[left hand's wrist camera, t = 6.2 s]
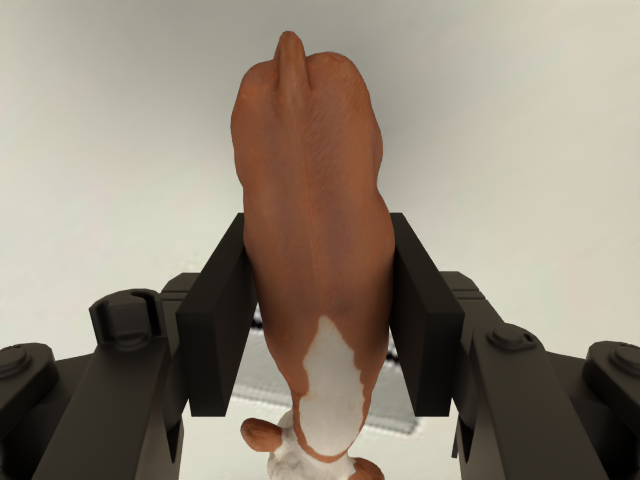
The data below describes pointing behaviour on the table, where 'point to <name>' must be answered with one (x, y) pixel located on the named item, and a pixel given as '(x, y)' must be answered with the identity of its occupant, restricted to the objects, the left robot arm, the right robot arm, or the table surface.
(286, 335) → the bull figurine
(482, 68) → the table surface
